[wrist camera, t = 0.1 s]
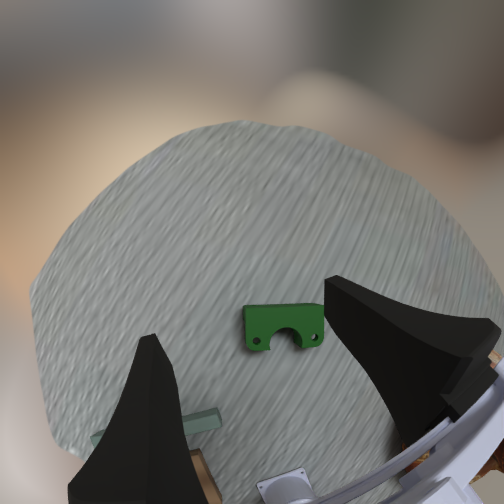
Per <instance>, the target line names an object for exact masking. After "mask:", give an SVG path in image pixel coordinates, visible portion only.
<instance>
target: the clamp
mask: <svg viewBox="0 0 504 504" xmlns="http://www.w3.org/2000/svg"><path fill="white" fill-rule="evenodd" d="M243 320H244V321H245V342H246V344H247V346H248V348H249V349H251V350H253V351H263V350H270V346H269V343H270V339H271V337H272V335H273V334H274V333H275V332H276V331H277V330H279V329H281V328H284V327H290V328H292V330H293V332H294V343H296V344H297V345H298V346H300V347H301V348H309V347H317V346H319V345H320V344H321V343H322V342H323V339H324V305H320V304H315V303H299V304H270V305H244V306H243ZM313 334H315V338H314V339H312V340H311V336H312V335H313ZM255 337H258V338H259V341H258V342H257V343H254V342H253V339H254V338H255Z"/></svg>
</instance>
